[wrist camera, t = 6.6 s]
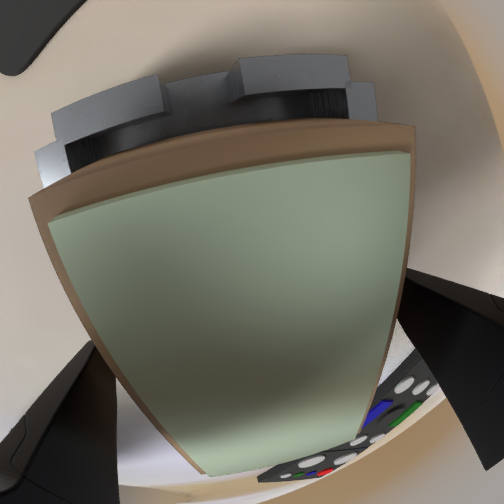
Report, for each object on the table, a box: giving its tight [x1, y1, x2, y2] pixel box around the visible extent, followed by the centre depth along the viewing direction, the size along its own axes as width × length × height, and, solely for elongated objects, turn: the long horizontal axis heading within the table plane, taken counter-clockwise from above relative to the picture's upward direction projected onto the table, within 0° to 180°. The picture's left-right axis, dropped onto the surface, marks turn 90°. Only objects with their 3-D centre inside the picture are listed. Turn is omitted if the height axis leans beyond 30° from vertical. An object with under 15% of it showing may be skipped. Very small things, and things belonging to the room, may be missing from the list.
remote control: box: [257, 348, 440, 483], centre depth 24 cm, size 11×30×2 cm, turn 147°
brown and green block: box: [28, 117, 416, 477], centre depth 8 cm, size 10×6×5 cm, turn 8°
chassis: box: [34, 54, 378, 188], centre depth 11 cm, size 14×10×4 cm
